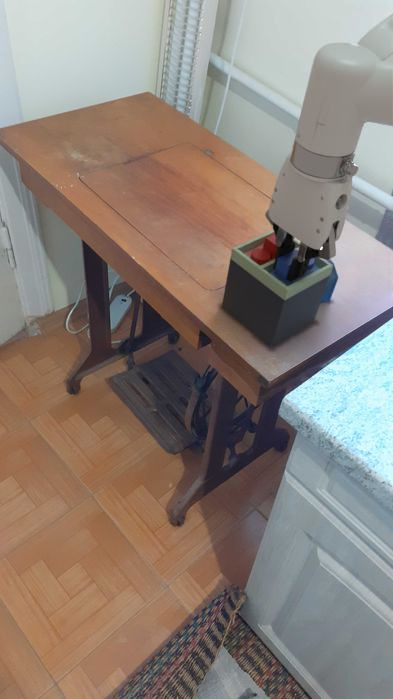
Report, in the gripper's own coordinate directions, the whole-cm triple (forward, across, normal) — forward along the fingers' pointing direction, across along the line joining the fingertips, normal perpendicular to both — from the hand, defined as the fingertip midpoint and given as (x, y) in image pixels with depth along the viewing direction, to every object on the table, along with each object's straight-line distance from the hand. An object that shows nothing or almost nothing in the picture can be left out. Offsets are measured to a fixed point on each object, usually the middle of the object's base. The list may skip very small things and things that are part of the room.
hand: (288, 271), depth 81 cm
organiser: (+2, +3, -2) cm, 4 cm away
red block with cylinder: (+1, +6, -2) cm, 6 cm away
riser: (+13, +3, -2) cm, 13 cm away
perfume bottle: (+13, +3, -11) cm, 17 cm away
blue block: (0, 0, -2) cm, 2 cm away
